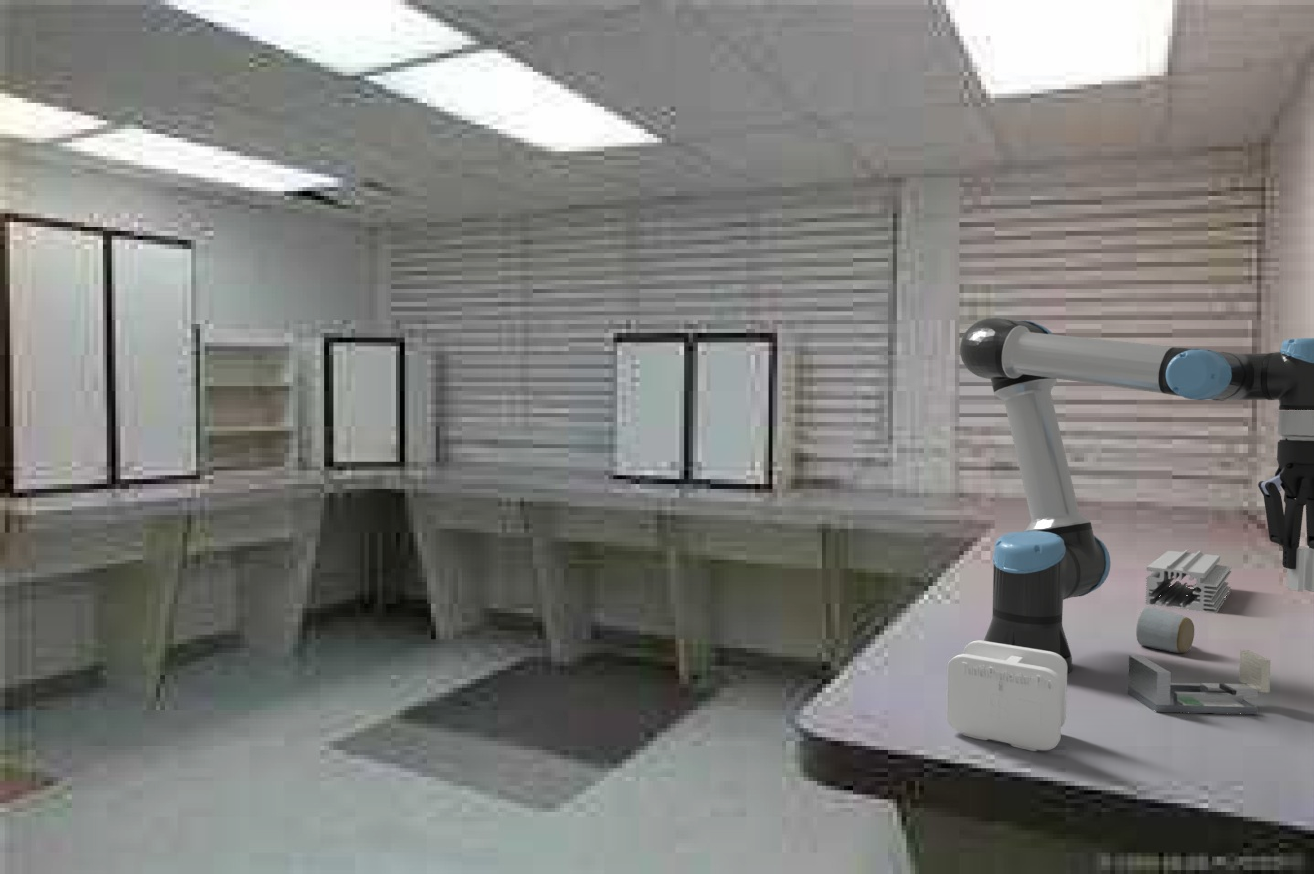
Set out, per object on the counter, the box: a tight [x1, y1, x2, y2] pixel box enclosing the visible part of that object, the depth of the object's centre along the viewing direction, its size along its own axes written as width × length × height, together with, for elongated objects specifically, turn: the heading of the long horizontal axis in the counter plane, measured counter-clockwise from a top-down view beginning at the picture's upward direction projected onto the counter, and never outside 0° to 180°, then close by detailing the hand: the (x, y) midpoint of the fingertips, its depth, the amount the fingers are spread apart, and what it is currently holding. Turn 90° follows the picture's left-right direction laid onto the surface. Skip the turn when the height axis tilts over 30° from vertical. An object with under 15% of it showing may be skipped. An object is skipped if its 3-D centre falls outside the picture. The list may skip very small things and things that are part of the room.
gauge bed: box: [1127, 655, 1259, 715], centre depth 140 cm, size 15×9×6 cm, turn 87°
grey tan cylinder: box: [1135, 606, 1195, 654], centre depth 172 cm, size 11×8×8 cm
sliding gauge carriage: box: [1199, 649, 1271, 699], centre depth 139 cm, size 8×7×6 cm
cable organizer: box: [945, 639, 1068, 752], centre depth 126 cm, size 15×11×12 cm
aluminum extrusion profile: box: [1145, 549, 1232, 614], centre depth 218 cm, size 14×31×10 cm, turn 142°
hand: (1301, 589), depth 139 cm, fingers closed
